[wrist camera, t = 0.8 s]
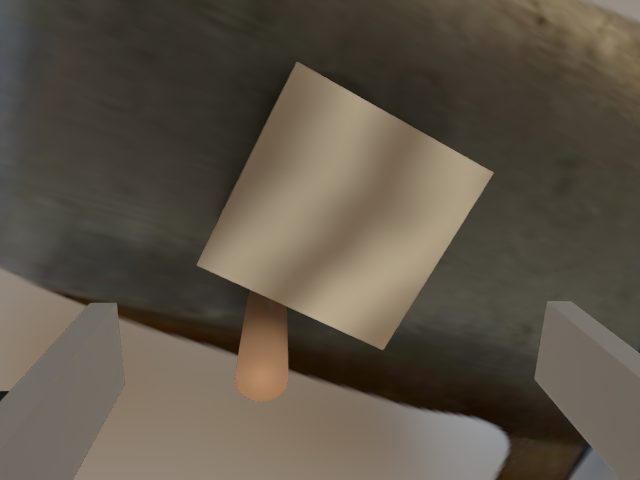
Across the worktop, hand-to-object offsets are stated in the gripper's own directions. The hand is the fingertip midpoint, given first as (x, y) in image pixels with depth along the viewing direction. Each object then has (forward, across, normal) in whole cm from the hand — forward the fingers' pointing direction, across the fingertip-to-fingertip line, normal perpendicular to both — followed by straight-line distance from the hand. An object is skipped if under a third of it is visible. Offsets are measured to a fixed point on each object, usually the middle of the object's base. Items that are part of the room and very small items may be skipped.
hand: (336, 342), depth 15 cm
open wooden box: (+22, +2, +1) cm, 22 cm away
